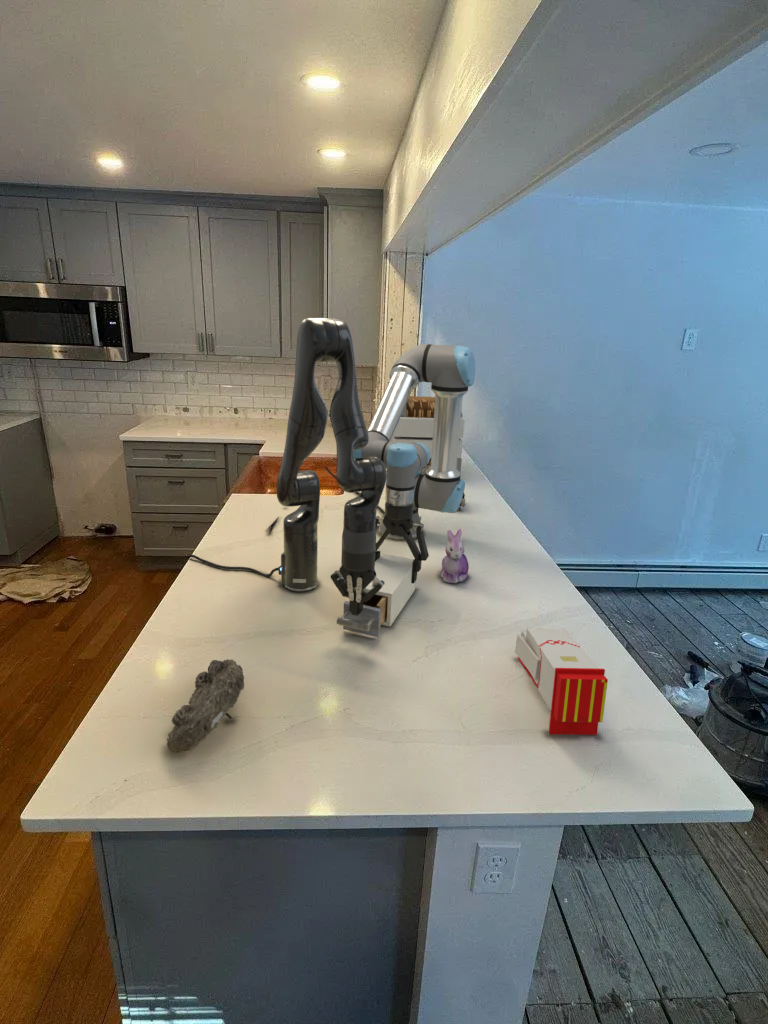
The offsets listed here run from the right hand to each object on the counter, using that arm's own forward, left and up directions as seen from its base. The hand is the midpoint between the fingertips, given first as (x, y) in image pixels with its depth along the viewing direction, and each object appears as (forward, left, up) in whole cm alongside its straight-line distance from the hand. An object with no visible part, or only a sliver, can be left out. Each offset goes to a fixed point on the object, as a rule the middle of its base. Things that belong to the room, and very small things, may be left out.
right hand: (395, 577), depth 158 cm
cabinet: (+4, -6, -4) cm, 9 cm away
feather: (-66, +1, -4) cm, 66 cm away
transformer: (-84, +91, -4) cm, 124 cm away
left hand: (+14, -25, +4) cm, 29 cm away
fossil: (+18, -62, -4) cm, 65 cm away
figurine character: (-40, +68, -4) cm, 79 cm away
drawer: (+9, -16, -3) cm, 18 cm away
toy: (+53, -3, -4) cm, 53 cm away
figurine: (+4, +20, -4) cm, 21 cm away
